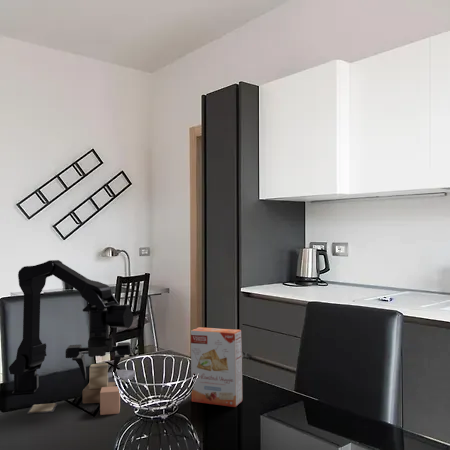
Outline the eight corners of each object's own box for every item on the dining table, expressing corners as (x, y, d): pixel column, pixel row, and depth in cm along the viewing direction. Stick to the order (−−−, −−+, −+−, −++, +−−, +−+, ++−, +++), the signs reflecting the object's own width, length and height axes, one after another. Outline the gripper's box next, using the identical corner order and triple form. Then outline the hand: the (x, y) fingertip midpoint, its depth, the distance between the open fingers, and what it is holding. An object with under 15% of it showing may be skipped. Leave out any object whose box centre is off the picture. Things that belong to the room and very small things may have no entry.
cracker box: (190, 402, 139) (189, 329, 140) (199, 396, 144) (198, 326, 145) (235, 408, 133) (234, 332, 134) (243, 401, 139) (241, 328, 140)
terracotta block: (100, 415, 130) (100, 392, 130) (101, 408, 135) (101, 387, 135) (119, 413, 131) (119, 391, 131) (120, 407, 136) (119, 386, 136)
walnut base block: (82, 404, 140) (82, 390, 140) (89, 395, 148) (89, 382, 148) (110, 403, 140) (110, 389, 140) (115, 395, 148) (115, 382, 148)
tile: (27, 413, 132) (27, 412, 132) (32, 405, 138) (32, 404, 138) (53, 411, 133) (53, 410, 133) (57, 404, 139) (57, 402, 139)
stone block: (99, 395, 154) (129, 388, 154) (96, 380, 154) (126, 373, 154) (109, 385, 166) (137, 379, 165) (106, 371, 166) (135, 365, 166)
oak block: (89, 389, 141) (89, 368, 142) (91, 384, 146) (91, 364, 146) (106, 387, 142) (106, 367, 142) (108, 383, 147) (107, 363, 147)
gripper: (62, 332, 135) (62, 388, 135) (129, 329, 139) (130, 384, 138) (68, 326, 146) (68, 378, 146) (130, 323, 149) (131, 374, 149)
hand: (99, 378), depth 144 cm, fingers open, 8 cm apart
